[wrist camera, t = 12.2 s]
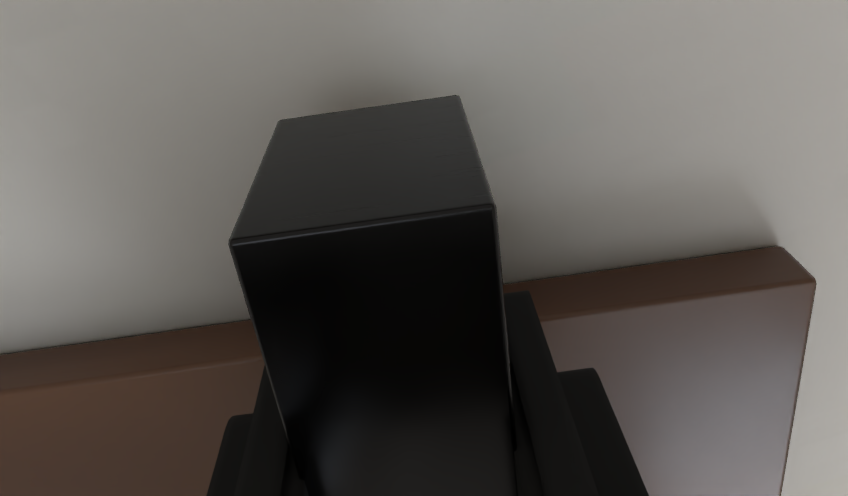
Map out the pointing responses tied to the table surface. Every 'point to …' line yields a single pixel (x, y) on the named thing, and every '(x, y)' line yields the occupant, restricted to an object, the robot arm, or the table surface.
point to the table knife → (382, 302)
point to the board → (568, 343)
